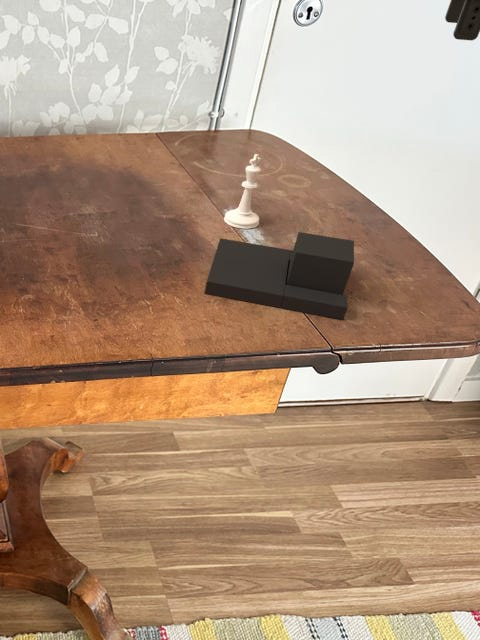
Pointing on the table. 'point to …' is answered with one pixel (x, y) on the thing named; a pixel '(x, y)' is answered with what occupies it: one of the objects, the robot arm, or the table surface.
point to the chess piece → (245, 200)
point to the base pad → (266, 280)
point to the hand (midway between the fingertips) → (459, 30)
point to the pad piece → (320, 263)
